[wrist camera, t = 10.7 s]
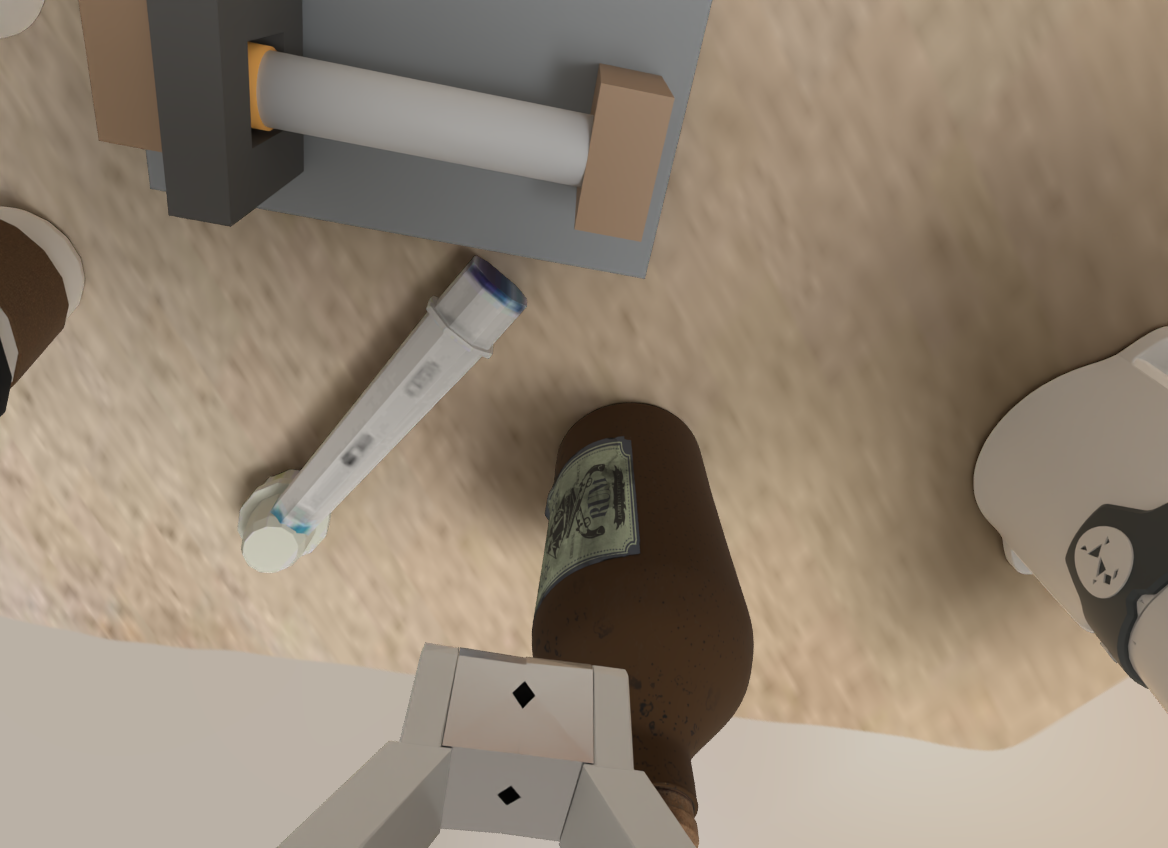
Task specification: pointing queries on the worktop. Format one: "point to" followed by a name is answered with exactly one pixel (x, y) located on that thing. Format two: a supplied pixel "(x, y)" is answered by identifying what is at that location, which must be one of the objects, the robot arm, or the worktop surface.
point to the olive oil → (646, 587)
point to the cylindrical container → (17, 15)
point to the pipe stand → (454, 116)
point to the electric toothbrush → (380, 416)
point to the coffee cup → (32, 291)
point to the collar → (219, 104)
